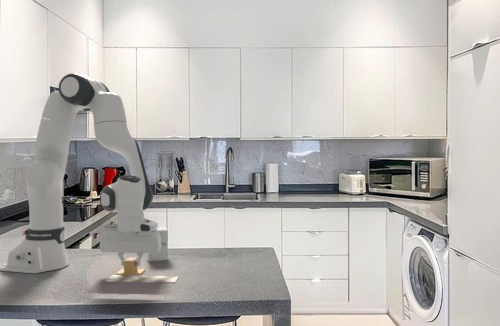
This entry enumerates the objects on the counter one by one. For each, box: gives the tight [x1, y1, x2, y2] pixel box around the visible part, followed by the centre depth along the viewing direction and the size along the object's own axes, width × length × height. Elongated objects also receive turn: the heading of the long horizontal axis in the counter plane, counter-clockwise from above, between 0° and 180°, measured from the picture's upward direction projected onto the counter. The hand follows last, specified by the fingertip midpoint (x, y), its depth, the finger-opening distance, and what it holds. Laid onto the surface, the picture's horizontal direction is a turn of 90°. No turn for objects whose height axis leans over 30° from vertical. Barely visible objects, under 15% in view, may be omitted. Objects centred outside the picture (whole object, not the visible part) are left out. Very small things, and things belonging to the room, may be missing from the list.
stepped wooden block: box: [115, 257, 146, 275], centre depth 155 cm, size 8×6×5 cm
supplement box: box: [146, 226, 169, 262], centre depth 174 cm, size 7×7×13 cm
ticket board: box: [105, 274, 180, 284], centre depth 152 cm, size 24×13×2 cm, turn 87°
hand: (130, 265), depth 155 cm, fingers closed on stepped wooden block, 3 cm apart
